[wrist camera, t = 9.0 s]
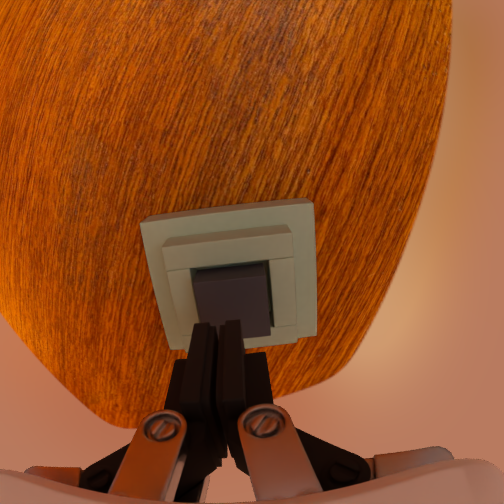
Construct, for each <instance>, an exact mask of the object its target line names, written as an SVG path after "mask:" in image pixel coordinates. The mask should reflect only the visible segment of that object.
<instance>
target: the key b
mask: <svg viewBox="0 0 504 504" xmlns="http://www.w3.org/2000/svg"><path fill="white" fill-rule="evenodd" d="M193 287H194V292H195V297H196V302H197V307H198V312H199V316H200V321H201V323H205V322H209V323H210V325H211V326H216V329H217V334H218V339H219V329H220V325H225V321H226V320H236V319H240V320H241V326H242V333H243V339H246V338H255V337H264V336H271V328H270V317H269V306H268V295H267V284H266V275H265V270H264V265H263V263H257V264H248V265H239V266H230V267H221V268H211V269H202V270H197V272H196V275H195V278H194V281H193Z"/></svg>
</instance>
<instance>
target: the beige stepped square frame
mask: <svg viewBox="0 0 504 504" xmlns="http://www.w3.org/2000/svg"><path fill="white" fill-rule="evenodd" d="M140 229H141V234H142V239H143V244H144V249H145V253H146V258H147V262H148V267H149V271H150V276H151V280H152V284H153V288H154V292H155V296H156V300H157V304H158V308H159V312H160V315H161V319H162V323H163V326H164V330H165V333H166V337H167V340H168V344H169V347H170V350H180V349H185V352H186V353H188V350H189V345H190V341H191V336H192V331H193V326H194V324H195V323H201V321H200V316H199V312H198V307H197V302H196V297H195V292H194V287H193V281H194V278H195V275H196V272H197V270H202V269H211V268H221V267H230V266H239V265H248V264H257V263H263V265H264V270H265V275H266V284H267V295H268V306H269V317H270V328H271V336H264V337H255V338H246V339H243V340H244V347H245V349H246V348H256V347H265V346H273V345H281V344H289V343H296V342H297V341H298V338H303V337H310V336H316V335H317V275H316V243H315V220H314V203H313V202H311V201H310V200H309V199H307V198H295V199H284V200H274V201H264V202H254V203H245V204H236V205H227V206H219V207H211V208H203V209H195V210H187V211H180V212H173V213H166V214H159V215H152V216H148V217H147V218H146V219H144V220H143V221H142V222H141V223H140Z"/></svg>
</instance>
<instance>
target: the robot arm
mask: <svg viewBox="0 0 504 504" xmlns="http://www.w3.org/2000/svg"><path fill="white" fill-rule="evenodd" d="M227 444H228V447H229V450H230V454H231V456H232V458H234V460H235V463H236V467H237V468H238V469H240V470H241V471H242V472H244V473H245V474H247V475H249V476H250V479H251V483H252V487H253V490H254V494H255V497H256V501H254V502H240V503H205V498H206V494H207V490H208V486H209V481H210V476H209V474H210V473H212V472H213V471H214V470H215V469H217V467H221V466H222V458H227ZM0 504H504V473H503V472H502V471H501V470H500V469H499V468H498V467H496V466H495V465H494V464H492V463H490V462H488V461H485V460H481V459H454V457H453V455H452V454H451V452H450V451H448V450H447V449H446V448H442V447H439V446H436V447H427V448H422V449H416V450H410V451H404V452H396V453H388V454H380V455H374V457H373V458H366V459H363V458H362V457H360V456H358V455H356V454H354V453H351V452H349V451H346V450H344V449H341V448H339V447H337V446H334V445H332V444H330V443H328V442H325V441H323V440H321V439H319V438H316V437H314V436H312V435H310V434H308V433H305V432H304V431H302V430H300V429H297V428H295V427H294V425H293V422H292V420H291V418H290V415H289V414H288V413H287V411H286V410H285V409H283V408H282V407H280V406H277V405H274V404H273V397H272V390H271V384H270V378H269V371H268V365H267V358H266V352H258V353H249V354H245V347H244V340H243V333H242V326H241V320H240V319H236V320H226V321H225V325H220V329H219V339H218V334H217V329H216V326H211V325H210V323H209V322H205V323H195V324H194V326H193V331H192V336H191V341H190V345H189V350H188V356H187V359H177V360H175V363H174V367H173V371H172V375H171V380H170V384H169V388H168V393H167V397H166V401H165V406H164V410H158V411H154V412H152V413H150V414H148V415H147V416H146V417H144V418H143V420H142V421H141V422H140V424H139V426H138V428H137V430H136V433H135V435H134V437H133V439H132V441H131V443H129V444H127V445H126V446H124V447H122V448H121V449H119V450H117V451H115V452H114V453H112V454H110V455H108V456H107V457H105V458H103V459H101V460H99V461H98V462H96V463H94V464H92V465H91V466H89V467H88V468H86V469H85V470H82V469H81V468H78V467H43V466H34V467H30V468H28V469H27V470H26V471H25V472H24V473H23V472H18V471H12V470H2V469H0Z"/></svg>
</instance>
